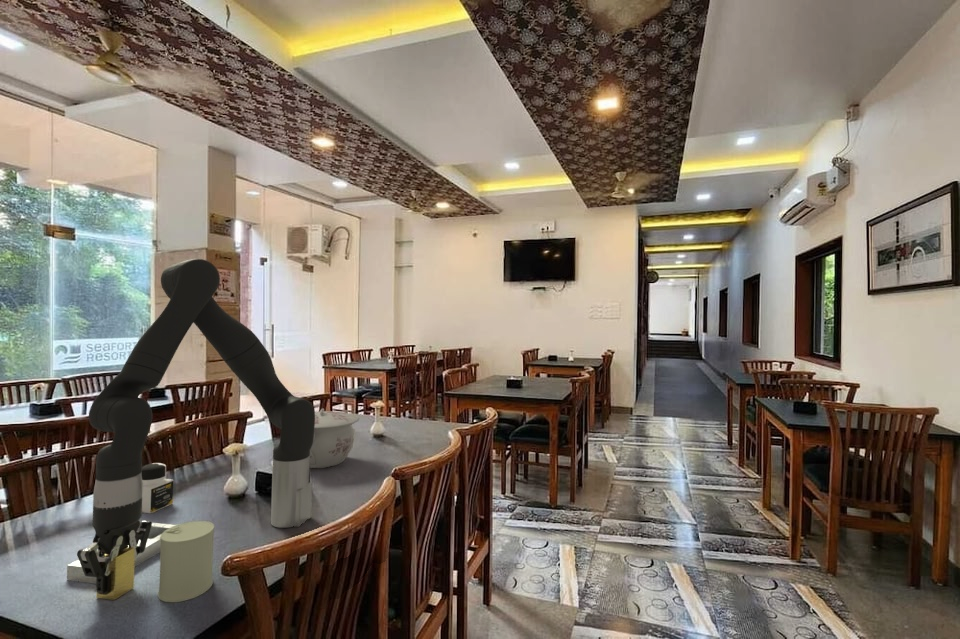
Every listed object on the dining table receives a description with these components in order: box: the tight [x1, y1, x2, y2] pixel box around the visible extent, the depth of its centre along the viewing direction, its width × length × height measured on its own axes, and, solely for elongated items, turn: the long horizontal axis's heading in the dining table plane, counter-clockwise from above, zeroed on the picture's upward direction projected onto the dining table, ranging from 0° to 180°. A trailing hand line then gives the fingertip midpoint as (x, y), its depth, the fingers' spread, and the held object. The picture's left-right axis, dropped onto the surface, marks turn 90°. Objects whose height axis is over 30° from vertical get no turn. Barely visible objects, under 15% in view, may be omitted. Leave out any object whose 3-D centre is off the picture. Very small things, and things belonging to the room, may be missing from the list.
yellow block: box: [96, 547, 135, 601], centre depth 88 cm, size 4×4×8 cm
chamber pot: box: [309, 408, 360, 469], centre depth 170 cm, size 28×28×21 cm
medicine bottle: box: [141, 462, 174, 514], centre depth 128 cm, size 7×7×12 cm
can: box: [157, 520, 215, 603], centre depth 90 cm, size 9×9×12 cm
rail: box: [66, 522, 177, 585], centre depth 101 cm, size 9×20×3 cm, turn 172°
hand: (115, 585), depth 88 cm, fingers closed on yellow block, 4 cm apart
